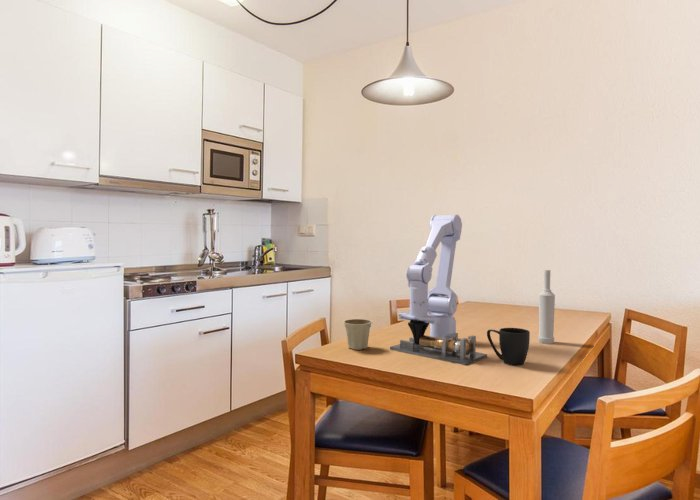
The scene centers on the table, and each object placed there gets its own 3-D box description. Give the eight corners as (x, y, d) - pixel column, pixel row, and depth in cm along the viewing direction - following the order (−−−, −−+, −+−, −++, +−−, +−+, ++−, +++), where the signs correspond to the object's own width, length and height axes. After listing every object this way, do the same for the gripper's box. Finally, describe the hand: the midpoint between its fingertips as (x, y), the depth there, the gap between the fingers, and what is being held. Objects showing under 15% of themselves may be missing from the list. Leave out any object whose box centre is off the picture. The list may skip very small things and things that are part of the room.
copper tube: (419, 347, 148) (419, 335, 148) (425, 345, 151) (425, 334, 150) (464, 356, 137) (464, 343, 137) (470, 354, 140) (470, 341, 140)
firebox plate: (413, 342, 159) (413, 335, 159) (487, 356, 141) (487, 348, 141) (389, 349, 150) (390, 341, 150) (466, 365, 132) (466, 356, 132)
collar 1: (454, 352, 146) (454, 332, 145) (457, 353, 145) (457, 333, 145) (441, 357, 140) (442, 336, 140) (445, 358, 139) (445, 336, 139)
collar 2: (471, 356, 142) (472, 335, 141) (475, 357, 141) (475, 335, 141) (459, 361, 136) (460, 339, 136) (463, 361, 135) (463, 339, 135)
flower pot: (347, 352, 146) (347, 324, 146) (340, 345, 155) (340, 319, 155) (375, 350, 148) (376, 323, 148) (367, 343, 158) (367, 318, 157)
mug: (492, 355, 142) (493, 324, 142) (533, 362, 135) (533, 330, 135) (481, 361, 136) (482, 328, 136) (523, 368, 128) (524, 334, 128)
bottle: (555, 344, 158) (557, 270, 158) (539, 343, 159) (540, 270, 159) (552, 341, 163) (553, 269, 163) (536, 340, 164) (537, 269, 164)
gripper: (393, 300, 152) (392, 342, 152) (431, 305, 142) (430, 349, 142) (405, 298, 157) (405, 338, 157) (443, 303, 147) (442, 345, 148)
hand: (418, 343), depth 150 cm, fingers closed
